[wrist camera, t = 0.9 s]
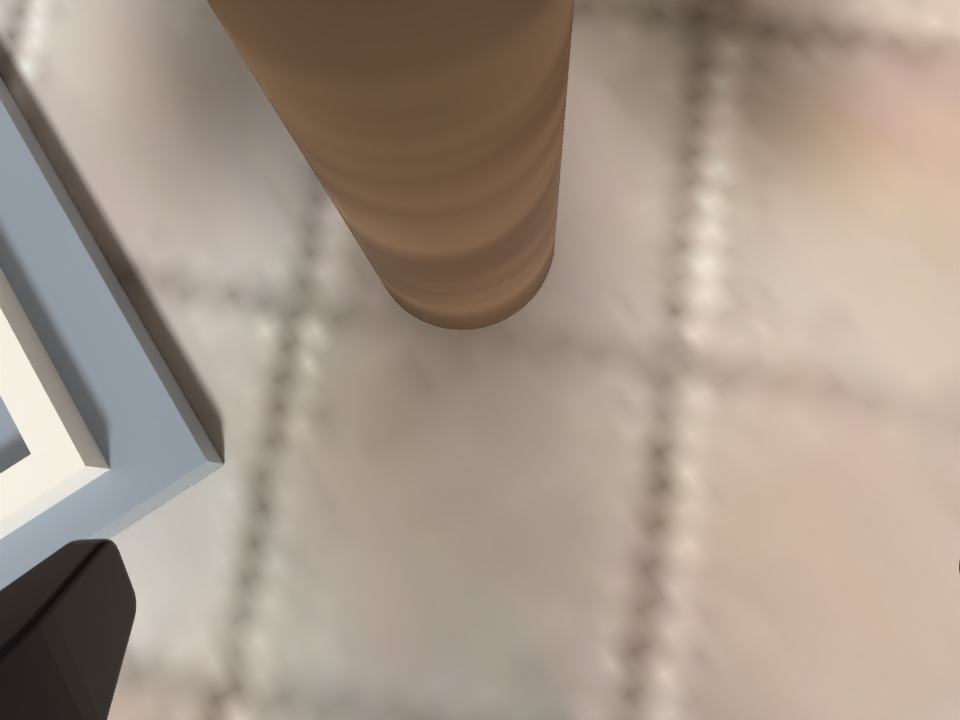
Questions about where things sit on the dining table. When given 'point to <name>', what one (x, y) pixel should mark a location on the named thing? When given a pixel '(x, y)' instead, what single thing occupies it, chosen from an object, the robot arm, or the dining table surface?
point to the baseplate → (75, 376)
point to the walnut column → (426, 135)
